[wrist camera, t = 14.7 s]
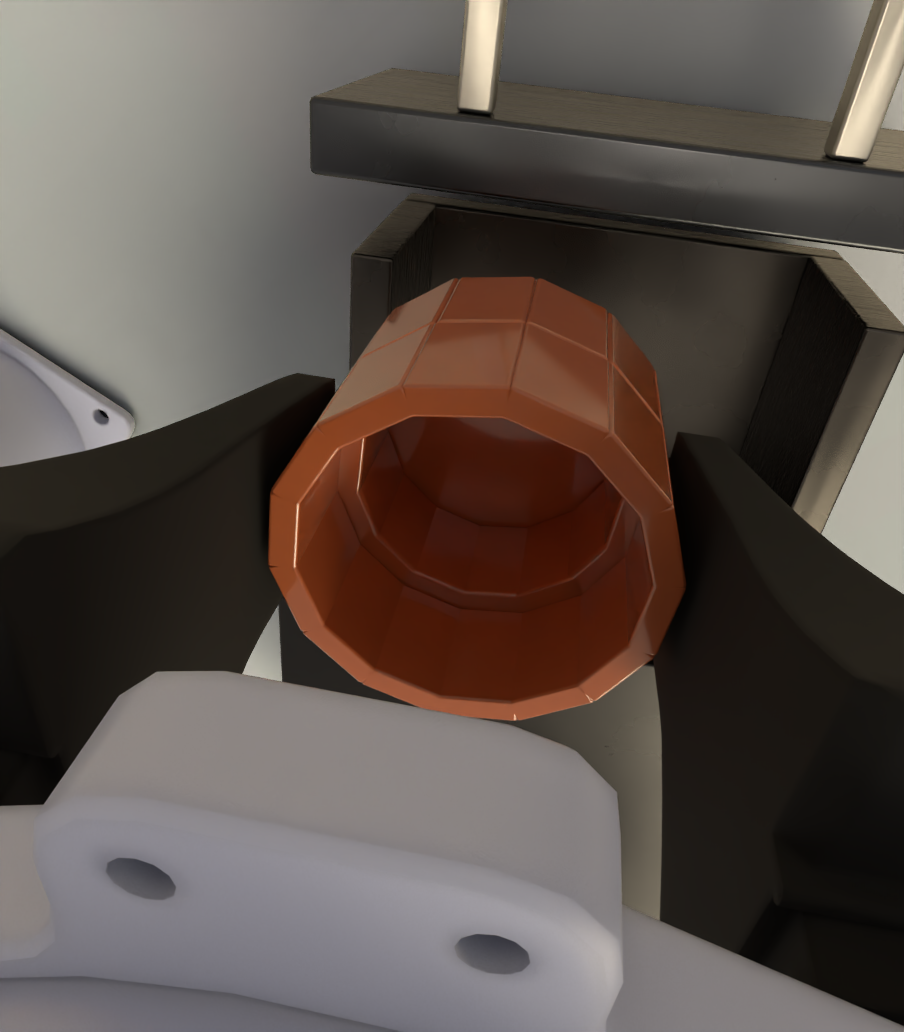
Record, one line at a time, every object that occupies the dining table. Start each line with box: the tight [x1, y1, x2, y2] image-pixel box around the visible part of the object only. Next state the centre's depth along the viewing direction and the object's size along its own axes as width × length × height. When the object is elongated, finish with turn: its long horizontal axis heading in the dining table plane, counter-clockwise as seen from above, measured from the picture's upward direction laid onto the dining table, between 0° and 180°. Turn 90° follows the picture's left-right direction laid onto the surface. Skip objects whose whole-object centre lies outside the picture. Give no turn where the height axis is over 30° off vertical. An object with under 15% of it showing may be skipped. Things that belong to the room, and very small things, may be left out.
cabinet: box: [279, 596, 662, 921], centre depth 24 cm, size 14×13×8 cm
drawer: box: [310, 0, 904, 534], centre depth 17 cm, size 19×11×6 cm, turn 175°
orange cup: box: [268, 277, 687, 721], centre depth 11 cm, size 5×5×4 cm
